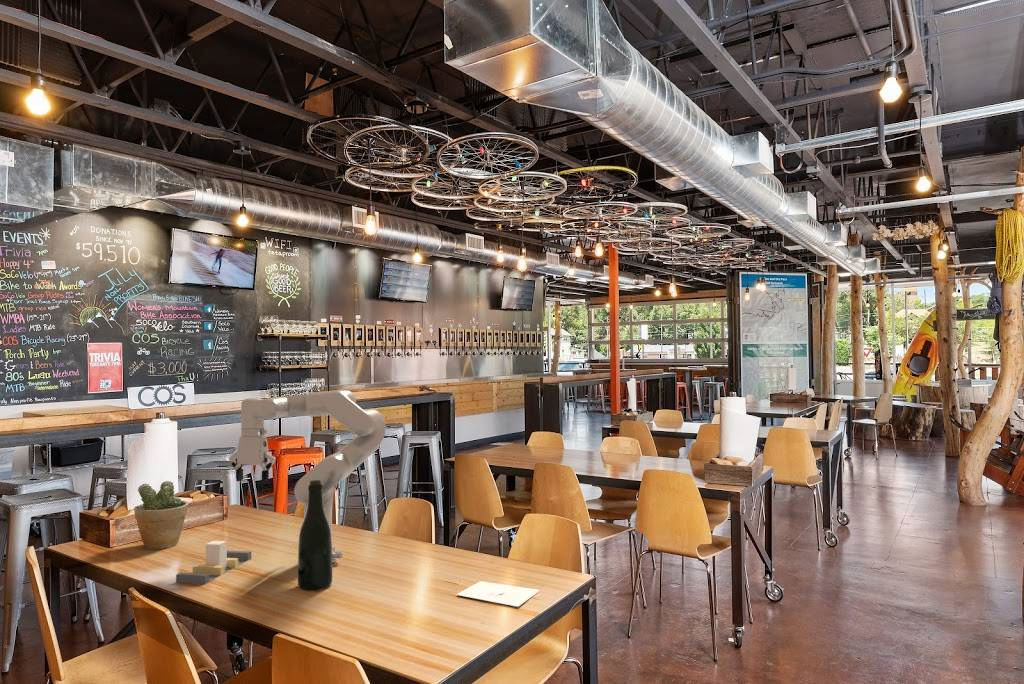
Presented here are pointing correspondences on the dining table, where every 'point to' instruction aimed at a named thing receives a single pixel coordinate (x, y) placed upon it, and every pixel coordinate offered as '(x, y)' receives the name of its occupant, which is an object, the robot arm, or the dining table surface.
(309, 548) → the beer bottle
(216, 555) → the frame block
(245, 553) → the notch rail
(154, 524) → the potted plant
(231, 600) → the dining table surface
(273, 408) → the robot arm
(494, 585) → the paper sheet
